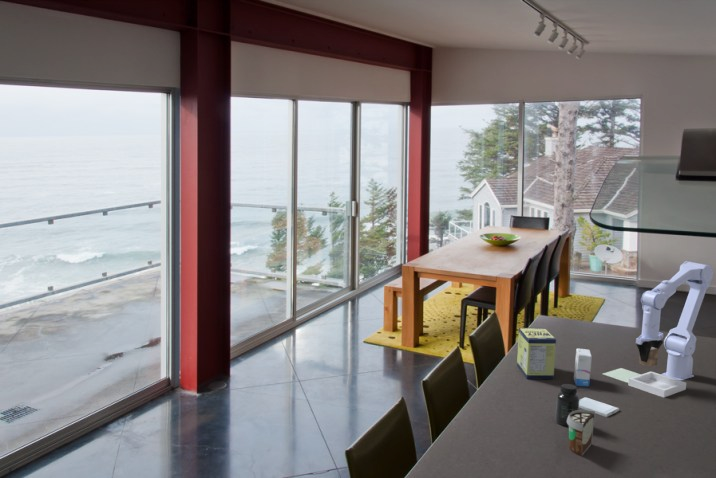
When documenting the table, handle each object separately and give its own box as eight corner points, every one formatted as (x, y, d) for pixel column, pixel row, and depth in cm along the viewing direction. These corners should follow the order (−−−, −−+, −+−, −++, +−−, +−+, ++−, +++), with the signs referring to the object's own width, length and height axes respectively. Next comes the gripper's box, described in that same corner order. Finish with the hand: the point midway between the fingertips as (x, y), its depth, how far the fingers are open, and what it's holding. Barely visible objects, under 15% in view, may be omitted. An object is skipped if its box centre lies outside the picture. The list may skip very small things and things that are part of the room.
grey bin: (650, 379, 266) (650, 371, 266) (685, 390, 255) (686, 382, 255) (628, 386, 258) (628, 378, 258) (663, 398, 247) (664, 390, 247)
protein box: (542, 365, 280) (544, 327, 277) (554, 379, 264) (556, 339, 262) (516, 365, 279) (518, 327, 277) (526, 379, 264) (528, 339, 261)
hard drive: (572, 402, 240) (606, 413, 231) (585, 396, 245) (619, 407, 236) (572, 407, 240) (606, 418, 231) (585, 401, 245) (619, 412, 236)
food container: (572, 437, 215) (574, 405, 214) (593, 442, 212) (595, 410, 210) (558, 451, 205) (561, 419, 204) (580, 457, 202) (582, 424, 200)
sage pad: (621, 369, 276) (621, 367, 276) (646, 377, 268) (646, 376, 268) (602, 375, 270) (602, 373, 269) (627, 384, 261) (627, 382, 261)
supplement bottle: (558, 416, 231) (560, 381, 229) (579, 421, 227) (582, 385, 225) (552, 423, 225) (555, 387, 223) (574, 428, 221) (577, 392, 219)
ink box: (590, 387, 257) (592, 355, 255) (575, 386, 258) (577, 354, 256) (587, 379, 265) (589, 348, 263) (573, 377, 266) (575, 347, 264)
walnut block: (645, 361, 262) (647, 345, 261) (657, 364, 259) (658, 348, 258) (638, 363, 260) (640, 347, 259) (650, 367, 256) (651, 350, 255)
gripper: (649, 329, 250) (646, 366, 252) (672, 323, 258) (669, 359, 260) (631, 325, 255) (628, 361, 257) (654, 319, 264) (651, 354, 266)
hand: (647, 359), depth 259 cm, fingers closed on walnut block, 4 cm apart
